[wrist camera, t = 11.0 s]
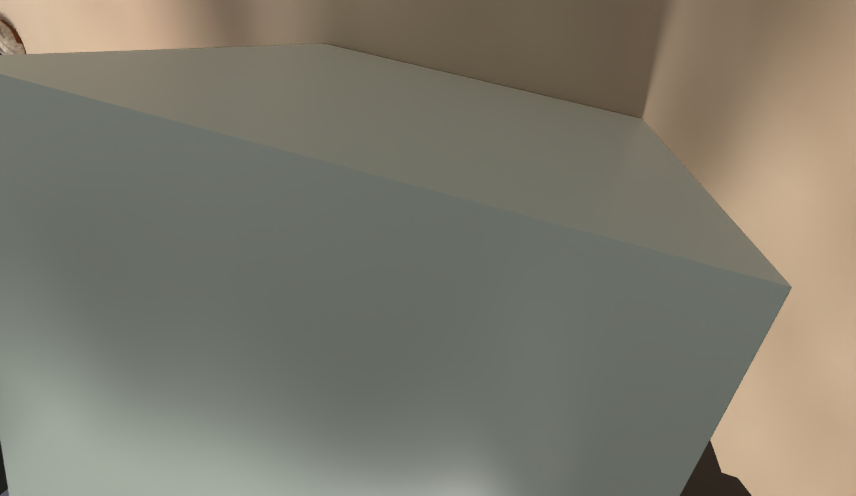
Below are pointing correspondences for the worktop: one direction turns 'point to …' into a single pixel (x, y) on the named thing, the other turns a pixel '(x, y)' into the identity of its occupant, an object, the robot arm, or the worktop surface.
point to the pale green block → (353, 283)
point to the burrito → (10, 40)
